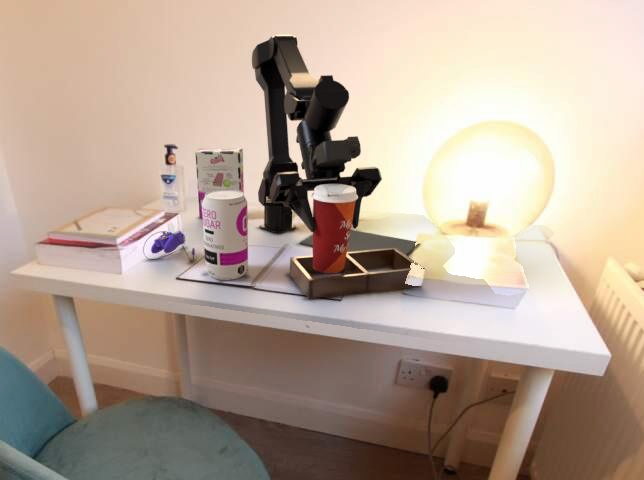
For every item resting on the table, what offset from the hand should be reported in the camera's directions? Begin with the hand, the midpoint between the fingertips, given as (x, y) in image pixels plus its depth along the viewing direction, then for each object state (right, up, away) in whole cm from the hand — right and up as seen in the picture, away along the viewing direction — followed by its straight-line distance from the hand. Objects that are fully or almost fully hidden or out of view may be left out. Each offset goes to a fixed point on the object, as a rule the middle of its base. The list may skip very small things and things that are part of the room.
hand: (334, 229), depth 84 cm
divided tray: (+5, -8, +7) cm, 12 cm away
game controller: (-30, -2, +19) cm, 36 cm away
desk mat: (+10, +2, +24) cm, 26 cm away
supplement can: (-19, -6, +12) cm, 23 cm away
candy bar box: (-21, +13, +44) cm, 51 cm away
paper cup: (0, -6, +5) cm, 8 cm away
